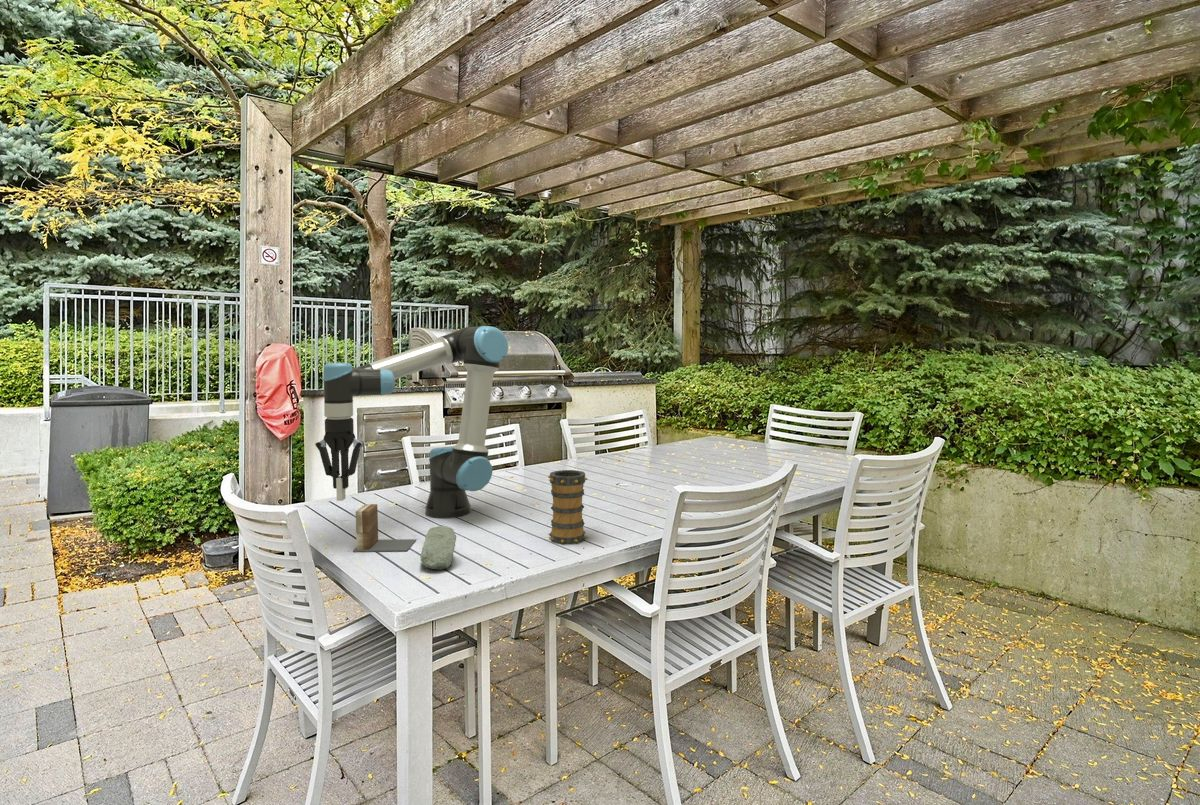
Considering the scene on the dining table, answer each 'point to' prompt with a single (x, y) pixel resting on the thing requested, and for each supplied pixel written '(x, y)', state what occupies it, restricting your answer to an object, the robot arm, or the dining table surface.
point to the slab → (366, 526)
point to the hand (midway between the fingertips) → (341, 499)
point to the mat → (390, 546)
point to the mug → (567, 506)
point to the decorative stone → (438, 547)
